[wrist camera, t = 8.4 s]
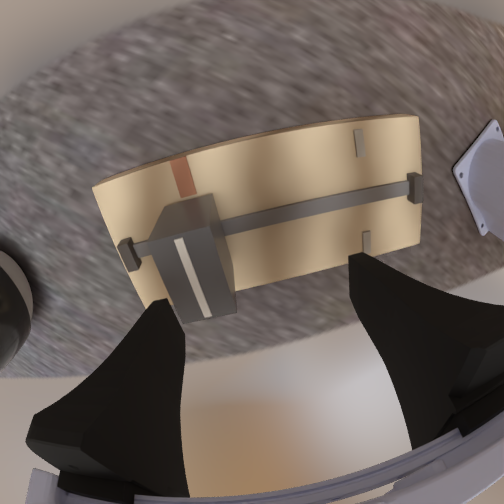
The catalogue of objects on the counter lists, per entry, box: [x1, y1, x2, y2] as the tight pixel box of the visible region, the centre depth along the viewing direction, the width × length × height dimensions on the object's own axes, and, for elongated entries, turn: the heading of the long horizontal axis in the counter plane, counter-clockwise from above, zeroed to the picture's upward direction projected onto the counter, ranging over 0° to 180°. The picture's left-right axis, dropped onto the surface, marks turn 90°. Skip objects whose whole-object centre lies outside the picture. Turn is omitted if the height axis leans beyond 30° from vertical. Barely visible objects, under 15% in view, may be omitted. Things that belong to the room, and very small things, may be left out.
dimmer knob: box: [147, 193, 237, 324], centre depth 16 cm, size 3×5×5 cm, turn 13°
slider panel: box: [92, 114, 423, 309], centre depth 19 cm, size 22×10×3 cm, turn 103°
